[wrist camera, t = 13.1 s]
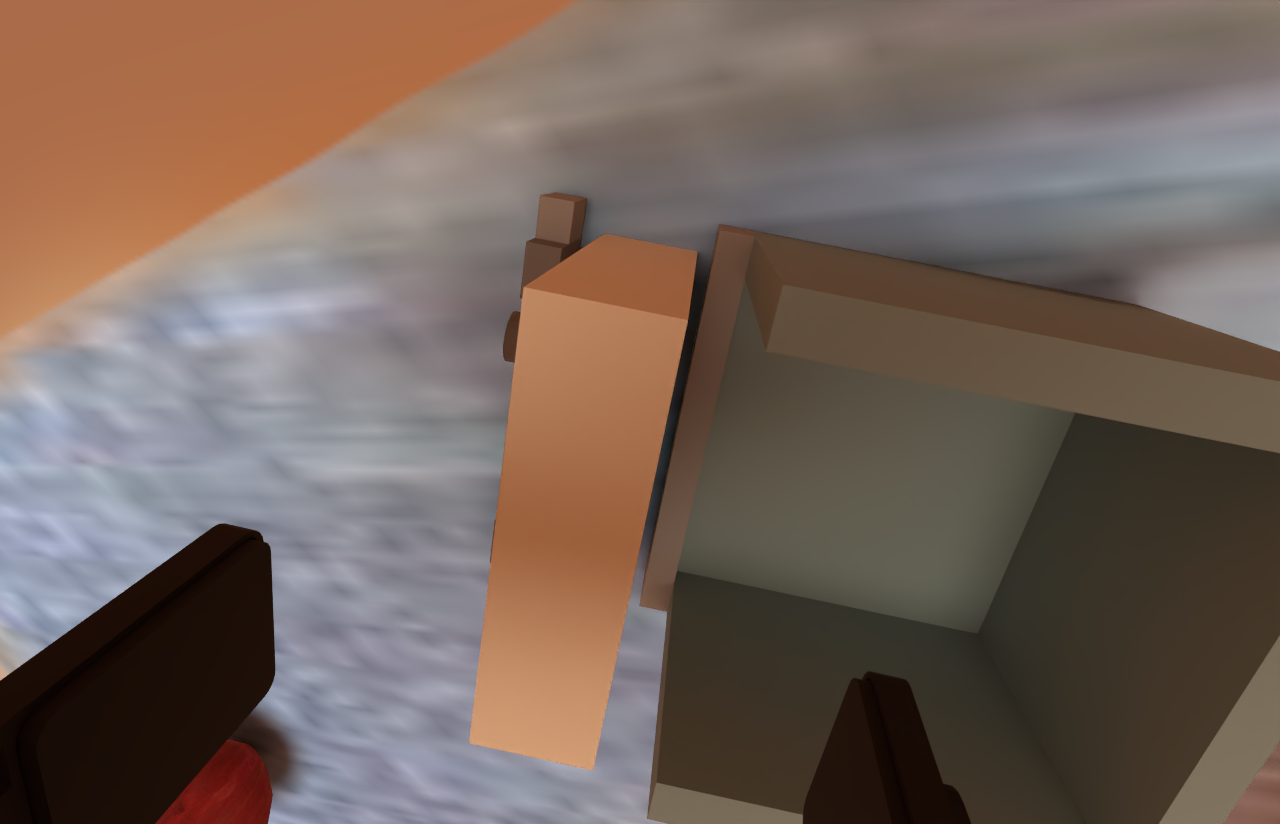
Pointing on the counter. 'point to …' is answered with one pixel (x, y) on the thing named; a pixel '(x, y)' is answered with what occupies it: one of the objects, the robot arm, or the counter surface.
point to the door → (576, 489)
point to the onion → (225, 790)
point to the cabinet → (960, 538)
